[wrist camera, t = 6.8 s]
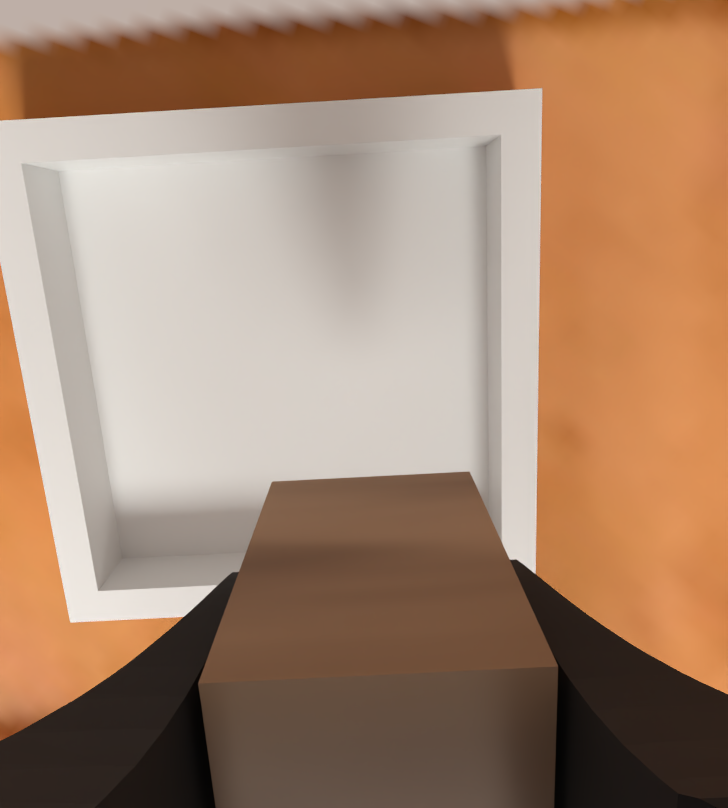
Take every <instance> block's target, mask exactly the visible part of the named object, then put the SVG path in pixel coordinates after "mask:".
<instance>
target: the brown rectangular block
mask: <svg viewBox="0 0 728 808" xmlns="http://www.w3.org/2000/svg"><path fill="white" fill-rule="evenodd" d="M198 686H199V693H200V700H201V707H202V714H203V722H204V729H205V736H206V743H207V750H208V757H209V764H210V771H211V778H212V785H213V793H214V800H215V807H216V808H554V792H555V758H556V724H557V690H558V665H557V663H556V660H555V658H554V656H553V654H552V652H551V649H550V647H549V645H548V643H547V641H546V638H545V636H544V634H543V632H542V630H541V627H540V625H539V623H538V621H537V619H536V616H535V614H534V612H533V610H532V608H531V605H530V603H529V601H528V599H527V597H526V595H525V592H524V590H523V588H522V586H521V584H520V581H519V579H518V577H517V575H516V573H515V570H514V568H513V566H512V564H511V562H510V559H509V557H508V555H507V553H506V551H505V548H504V546H503V544H502V542H501V540H500V537H499V535H498V533H497V531H496V529H495V526H494V524H493V522H492V520H491V518H490V515H489V513H488V511H487V509H486V507H485V504H484V502H483V500H482V498H481V496H480V493H479V491H478V489H477V487H476V485H475V482H474V480H473V478H472V476H471V474H470V471H469V472H449V473H430V474H410V475H391V476H371V477H351V478H332V479H312V480H293V481H273V482H272V483H271V485H270V488H269V491H268V494H267V496H266V499H265V502H264V505H263V507H262V510H261V513H260V516H259V518H258V521H257V524H256V527H255V529H254V532H253V535H252V537H251V540H250V543H249V546H248V548H247V551H246V554H245V557H244V559H243V562H242V565H241V568H240V570H239V573H238V576H237V579H236V581H235V584H234V587H233V589H232V592H231V595H230V598H229V600H228V603H227V606H226V609H225V611H224V614H223V617H222V620H221V622H220V625H219V628H218V631H217V633H216V636H215V639H214V642H213V644H212V647H211V650H210V652H209V655H208V658H207V661H206V663H205V666H204V669H203V672H202V674H201V677H200V680H199V683H198Z"/></svg>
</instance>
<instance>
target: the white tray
mask: <svg viewBox="0 0 728 808" xmlns="http://www.w3.org/2000/svg"><path fill="white" fill-rule="evenodd" d="M541 146H542V88H538V89H522V90H505V91H488V92H472V93H455V94H438V95H422V96H405V97H388V98H371V99H355V100H338V101H321V102H305V103H288V104H271V105H255V106H238V107H221V108H205V109H188V110H171V111H154V112H138V113H121V114H104V115H88V116H71V117H54V118H38V119H21V120H4V121H0V263H1V268H2V273H3V279H4V284H5V289H6V294H7V299H8V304H9V310H10V315H11V320H12V325H13V330H14V335H15V340H16V346H17V351H18V356H19V361H20V366H21V371H22V376H23V382H24V387H25V392H26V397H27V402H28V407H29V412H30V418H31V423H32V428H33V433H34V438H35V443H36V448H37V454H38V459H39V464H40V469H41V474H42V479H43V484H44V490H45V495H46V500H47V505H48V510H49V515H50V521H51V526H52V531H53V536H54V541H55V546H56V551H57V557H58V562H59V567H60V572H61V577H62V582H63V587H64V593H65V598H66V603H67V608H68V613H69V618H70V622H89V621H109V620H129V619H149V618H169V617H184V616H185V615H186V614H188V613H189V612H190V611H191V610H192V609H193V608H194V607H195V606H196V605H197V604H199V603H200V602H201V601H202V600H203V599H204V598H205V597H206V596H207V595H208V594H209V593H210V592H211V591H212V590H213V589H214V588H215V587H216V586H217V585H219V584H220V583H221V582H222V581H223V580H224V579H225V578H226V577H227V576H228V575H230V574H231V573H232V572H239V570H240V568H241V565H242V562H243V559H244V557H245V554H246V551H247V548H248V546H249V543H250V540H251V537H252V535H253V532H254V529H255V527H256V524H257V521H258V518H259V516H260V513H261V510H262V507H263V505H264V502H265V499H266V496H267V494H268V491H269V488H270V485H271V483H272V482H273V481H293V480H312V479H332V478H351V477H371V476H391V475H410V474H430V473H449V472H469V471H470V474H471V476H472V478H473V480H474V482H475V485H476V487H477V489H478V491H479V493H480V496H481V498H482V500H483V502H484V504H485V507H486V509H487V511H488V513H489V515H490V518H491V520H492V522H493V524H494V526H495V529H496V531H497V533H498V535H499V537H500V540H501V542H502V544H503V546H504V548H505V551H506V553H507V555H508V557H509V559H510V560H515V559H517V560H518V561H519V562H521V563H522V564H523V565H525V566H526V567H527V568H528V569H530V570H531V571H532V572H533V573H535V574H536V509H537V436H538V364H539V291H540V219H541Z"/></svg>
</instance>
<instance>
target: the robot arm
mask: <svg viewBox="0 0 728 808" xmlns="http://www.w3.org/2000/svg"><path fill="white" fill-rule="evenodd" d="M510 562H511V564H512V566H513V568H514V570H515V573H516V575H517V577H518V579H519V581H520V584H521V586H522V588H523V590H524V592H525V595H526V597H527V599H528V601H529V603H530V605H531V608H532V610H533V612H534V614H535V616H536V619H537V621H538V623H539V625H540V627H541V630H542V632H543V634H544V636H545V638H546V641H547V643H548V645H549V647H550V649H551V652H552V654H553V656H554V658H555V660H556V663H557V665H558V690H557V724H556V758H555V792H554V808H728V694H725V693H723V692H721V691H719V690H717V689H714V688H712V687H710V686H708V685H706V684H703V683H701V682H699V681H697V680H695V679H693V678H691V677H689V676H687V675H685V674H683V673H681V672H679V671H677V670H676V669H674V668H672V667H670V666H668V665H666V664H665V663H663V662H661V661H659V660H657V659H656V658H654V657H652V656H650V655H648V654H647V653H645V652H643V651H642V650H640V649H638V648H637V647H635V646H633V645H632V644H630V643H628V642H627V641H625V640H624V639H622V638H621V637H619V636H618V635H616V634H615V633H613V632H612V631H610V630H609V629H607V628H606V627H604V626H603V625H601V624H600V623H598V622H597V621H595V620H594V619H593V618H591V617H590V616H588V615H587V614H586V613H584V612H583V611H582V610H580V609H579V608H578V607H576V606H575V605H574V604H572V603H571V602H570V601H568V600H567V599H566V598H564V597H563V596H562V595H561V594H559V593H558V592H557V591H556V590H554V589H553V588H552V587H551V586H549V585H548V584H547V583H546V582H544V581H543V580H542V579H541V578H540V577H538V576H537V575H536V574H535V573H533V572H532V571H531V570H530V569H528V568H527V567H526V566H525V565H523V564H522V563H521V562H519V561H518V560H517V559H515V560H510ZM238 573H239V572H232V573H231V574H230V575H228V576H227V577H226V578H225V579H224V580H223V581H222V582H221V583H220V584H219V585H217V586H216V587H215V588H214V589H213V590H212V591H211V592H210V593H209V594H208V595H207V596H206V597H205V598H204V599H203V600H202V601H201V602H200V603H199V604H197V605H196V606H195V607H194V608H193V609H192V610H191V611H190V612H189V613H188V614H186V615H185V616H184V617H183V618H182V619H181V620H180V621H179V622H178V623H177V624H176V625H174V626H173V627H172V628H171V629H170V630H169V631H167V632H166V633H165V634H164V635H163V636H161V637H160V638H159V639H158V640H156V641H155V642H154V643H153V644H152V645H150V646H149V647H148V648H147V649H145V650H144V651H143V652H142V653H141V654H139V655H138V656H137V657H136V658H135V659H133V660H132V661H131V662H129V663H128V664H127V665H125V666H124V667H123V668H121V669H120V670H118V671H117V672H116V673H114V674H113V675H111V676H110V677H109V678H107V679H106V680H104V681H103V682H101V683H100V684H98V685H97V686H95V687H94V688H92V689H91V690H89V691H88V692H86V693H85V694H83V695H82V696H80V697H78V698H77V699H75V700H74V701H72V702H70V703H68V704H67V705H65V706H63V707H61V708H60V709H58V710H56V711H54V712H53V713H51V714H49V715H47V716H46V717H44V718H42V719H41V720H39V721H37V722H35V723H34V724H32V725H30V726H28V727H27V728H25V729H23V730H21V731H19V732H17V733H15V734H14V735H12V736H10V737H8V738H6V739H4V740H2V741H0V808H216V807H215V800H214V793H213V785H212V778H211V771H210V764H209V757H208V750H207V743H206V736H205V729H204V722H203V714H202V707H201V700H200V693H199V686H198V683H199V680H200V677H201V674H202V672H203V669H204V666H205V663H206V661H207V658H208V655H209V652H210V650H211V647H212V644H213V642H214V639H215V636H216V633H217V631H218V628H219V625H220V622H221V620H222V617H223V614H224V611H225V609H226V606H227V603H228V600H229V598H230V595H231V592H232V589H233V587H234V584H235V581H236V579H237V576H238Z"/></svg>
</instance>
